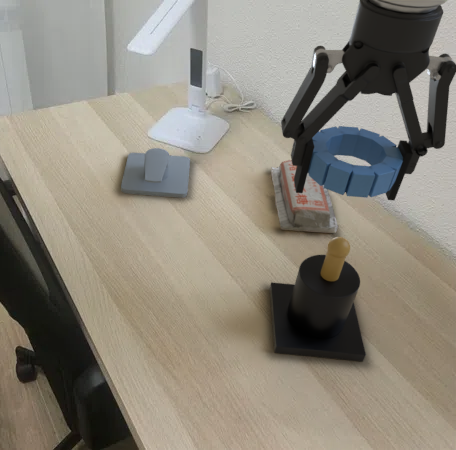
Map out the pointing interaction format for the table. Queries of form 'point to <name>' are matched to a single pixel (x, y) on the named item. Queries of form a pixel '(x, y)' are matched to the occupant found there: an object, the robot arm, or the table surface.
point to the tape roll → (354, 174)
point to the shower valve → (156, 174)
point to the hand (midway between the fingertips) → (343, 189)
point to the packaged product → (302, 202)
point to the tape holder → (319, 308)
